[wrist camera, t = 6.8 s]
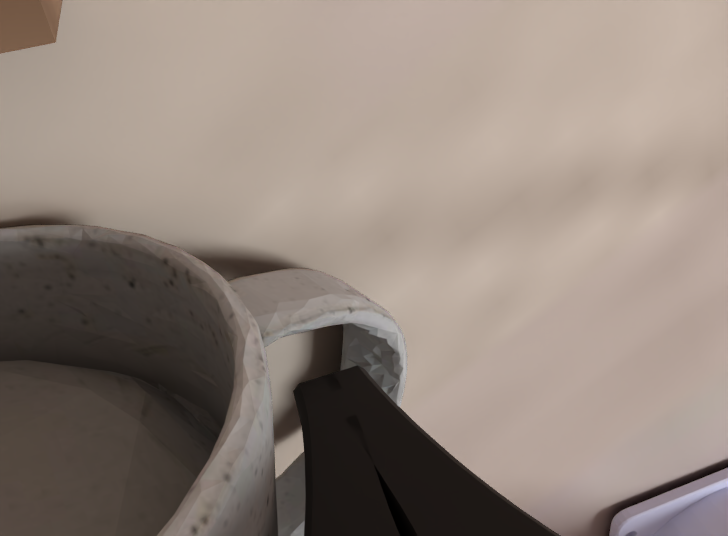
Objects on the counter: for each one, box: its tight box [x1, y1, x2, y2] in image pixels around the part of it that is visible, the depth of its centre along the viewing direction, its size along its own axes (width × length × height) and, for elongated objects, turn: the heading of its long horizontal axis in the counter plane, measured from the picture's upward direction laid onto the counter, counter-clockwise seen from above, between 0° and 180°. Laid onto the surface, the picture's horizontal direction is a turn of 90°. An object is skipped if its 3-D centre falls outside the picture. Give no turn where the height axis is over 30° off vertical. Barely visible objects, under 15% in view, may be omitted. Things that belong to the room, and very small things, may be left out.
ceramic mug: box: [0, 225, 407, 536], centre depth 10 cm, size 11×8×8 cm
